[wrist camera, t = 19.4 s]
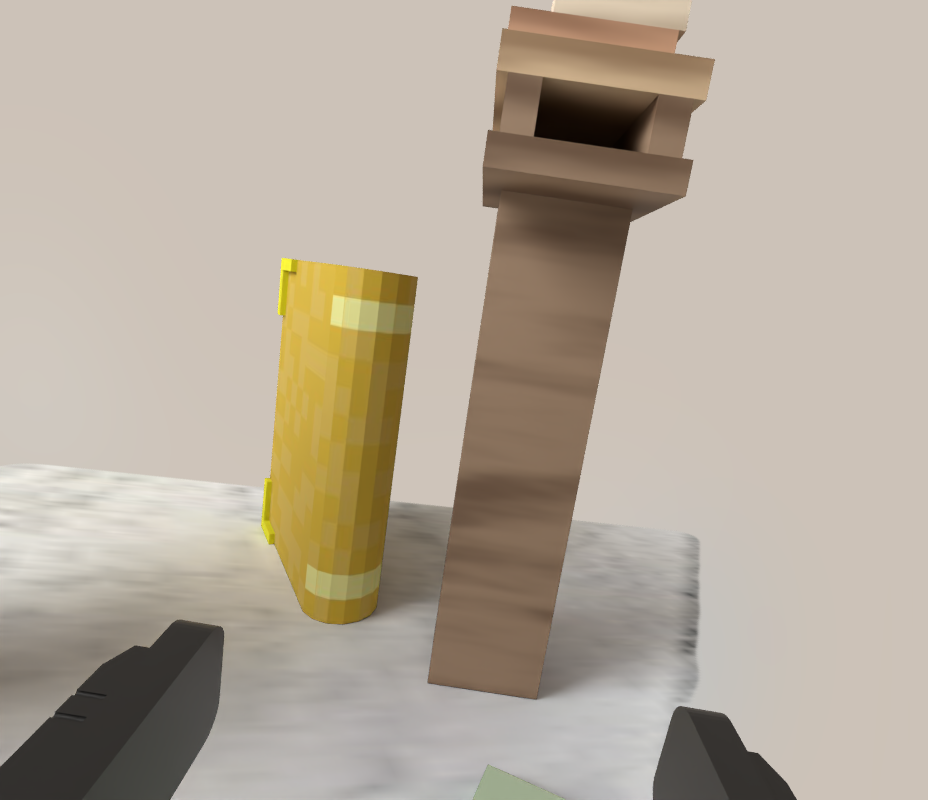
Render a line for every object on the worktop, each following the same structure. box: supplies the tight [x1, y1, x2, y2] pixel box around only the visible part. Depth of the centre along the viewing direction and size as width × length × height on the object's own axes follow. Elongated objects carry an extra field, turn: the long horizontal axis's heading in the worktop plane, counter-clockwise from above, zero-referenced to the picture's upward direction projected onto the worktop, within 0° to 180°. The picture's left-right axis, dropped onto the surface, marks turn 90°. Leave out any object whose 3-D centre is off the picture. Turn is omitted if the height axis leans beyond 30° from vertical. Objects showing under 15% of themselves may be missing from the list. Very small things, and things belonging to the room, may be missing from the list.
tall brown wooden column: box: [428, 0, 715, 699], centre depth 32 cm, size 12×9×39 cm
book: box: [261, 258, 418, 624], centre depth 44 cm, size 17×7×25 cm, turn 29°
